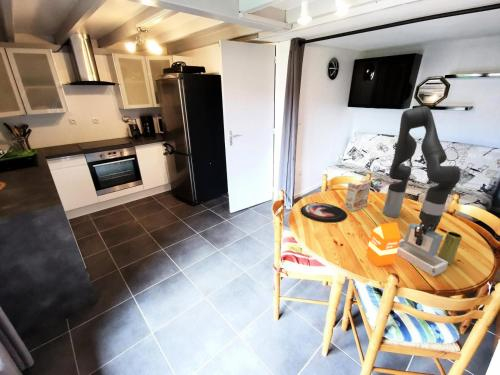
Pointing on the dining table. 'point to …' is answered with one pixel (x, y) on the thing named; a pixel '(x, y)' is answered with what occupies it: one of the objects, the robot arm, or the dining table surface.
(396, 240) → the orange juice
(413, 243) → the pale blue flat slab
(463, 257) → the dining table surface
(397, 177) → the robot arm
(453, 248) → the vase
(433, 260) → the white rectangular tray
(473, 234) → the dining table surface
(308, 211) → the wall clock
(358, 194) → the coffeecake box
